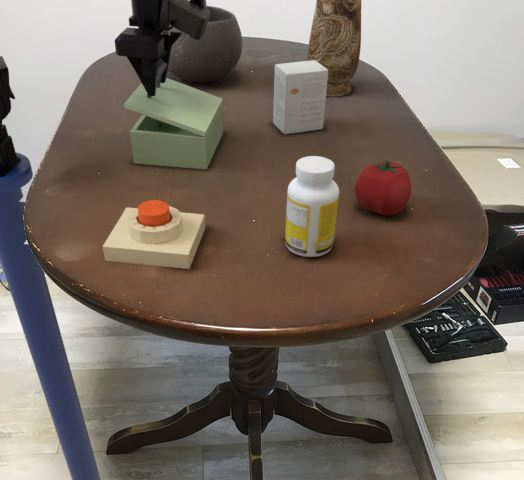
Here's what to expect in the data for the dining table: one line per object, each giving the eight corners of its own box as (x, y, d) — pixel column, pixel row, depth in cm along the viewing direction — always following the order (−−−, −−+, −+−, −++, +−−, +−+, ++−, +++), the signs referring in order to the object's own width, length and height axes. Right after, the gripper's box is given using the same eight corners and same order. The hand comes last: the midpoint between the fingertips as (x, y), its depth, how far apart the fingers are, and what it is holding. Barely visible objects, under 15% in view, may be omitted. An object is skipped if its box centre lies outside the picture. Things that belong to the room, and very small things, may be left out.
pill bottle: (337, 238, 81) (348, 157, 73) (325, 263, 76) (335, 180, 68) (292, 229, 82) (297, 149, 74) (278, 253, 78) (282, 170, 70)
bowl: (146, 71, 129) (140, 5, 121) (221, 61, 136) (220, -2, 127) (175, 98, 118) (170, 28, 109) (256, 86, 124) (257, 19, 116)
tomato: (343, 208, 87) (349, 161, 82) (375, 190, 91) (383, 145, 86) (388, 228, 83) (397, 181, 78) (419, 209, 87) (430, 162, 82)
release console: (105, 260, 75) (100, 233, 73) (128, 221, 83) (124, 195, 80) (189, 269, 75) (187, 242, 72) (205, 228, 82) (204, 202, 79)
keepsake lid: (124, 107, 90) (128, 75, 87) (149, 76, 101) (155, 46, 97) (204, 137, 91) (212, 106, 88) (221, 103, 102) (229, 74, 99)
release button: (135, 226, 75) (133, 214, 74) (143, 210, 78) (142, 198, 77) (165, 229, 75) (164, 216, 73) (173, 213, 77) (172, 201, 76)
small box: (311, 118, 112) (316, 59, 105) (323, 130, 108) (329, 69, 101) (272, 123, 110) (274, 63, 103) (283, 135, 106) (286, 73, 99)
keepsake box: (133, 163, 96) (129, 131, 92) (157, 128, 107) (154, 98, 103) (206, 169, 95) (205, 137, 91) (223, 133, 106) (222, 103, 102)
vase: (358, 84, 127) (381, -89, 106) (350, 101, 119) (373, -81, 99) (311, 78, 129) (324, -93, 108) (300, 95, 121) (312, -86, 101)
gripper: (190, -5, 77) (193, 115, 87) (217, -32, 91) (217, 75, 101) (107, -12, 77) (120, 108, 88) (146, -38, 91) (153, 69, 102)
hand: (157, 89), depth 95 cm, fingers closed on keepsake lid, 6 cm apart
